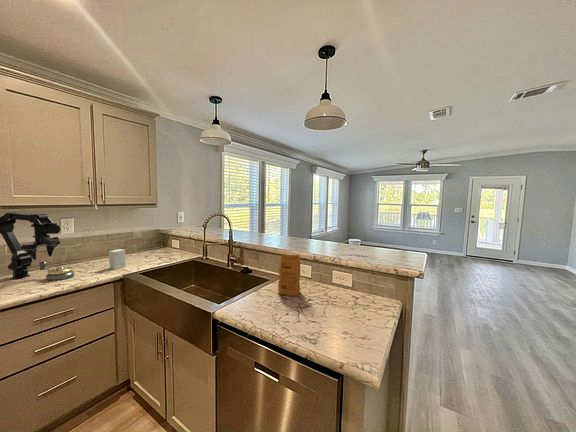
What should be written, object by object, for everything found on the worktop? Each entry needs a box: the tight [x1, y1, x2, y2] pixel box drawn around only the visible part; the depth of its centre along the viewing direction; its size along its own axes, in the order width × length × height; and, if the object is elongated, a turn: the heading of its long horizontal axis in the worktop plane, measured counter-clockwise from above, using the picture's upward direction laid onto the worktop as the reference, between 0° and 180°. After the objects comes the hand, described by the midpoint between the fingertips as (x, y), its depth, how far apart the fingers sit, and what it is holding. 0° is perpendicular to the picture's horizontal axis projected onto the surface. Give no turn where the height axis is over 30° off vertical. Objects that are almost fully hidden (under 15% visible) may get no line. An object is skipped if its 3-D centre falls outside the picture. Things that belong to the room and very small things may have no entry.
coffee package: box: [277, 253, 301, 297], centre depth 134 cm, size 10×12×22 cm
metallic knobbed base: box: [38, 260, 73, 276], centre depth 154 cm, size 18×11×7 cm, turn 90°
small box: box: [108, 248, 127, 270], centre depth 179 cm, size 8×6×13 cm
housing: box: [45, 270, 75, 282], centre depth 157 cm, size 15×18×3 cm
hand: (42, 258), depth 153 cm, fingers open, 9 cm apart
